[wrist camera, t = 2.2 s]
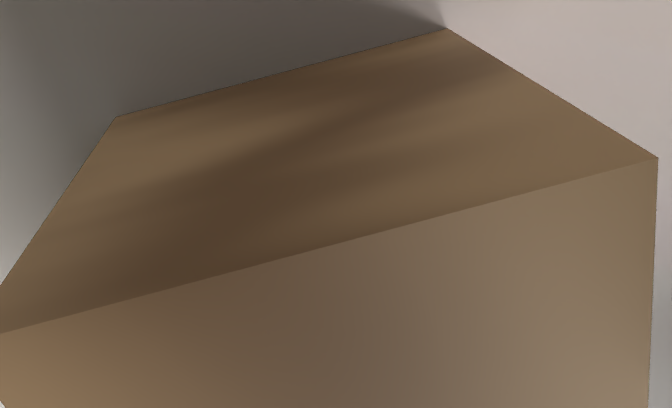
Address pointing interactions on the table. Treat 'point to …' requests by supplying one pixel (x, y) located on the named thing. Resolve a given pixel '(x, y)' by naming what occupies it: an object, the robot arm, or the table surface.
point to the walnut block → (345, 248)
